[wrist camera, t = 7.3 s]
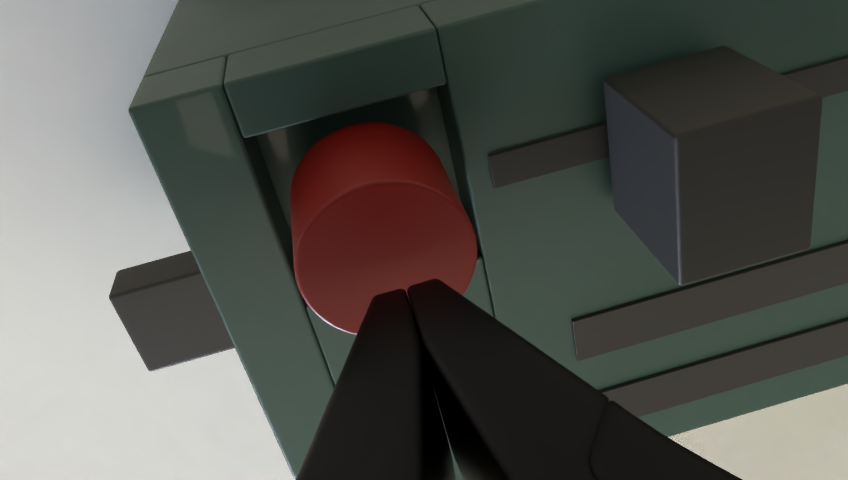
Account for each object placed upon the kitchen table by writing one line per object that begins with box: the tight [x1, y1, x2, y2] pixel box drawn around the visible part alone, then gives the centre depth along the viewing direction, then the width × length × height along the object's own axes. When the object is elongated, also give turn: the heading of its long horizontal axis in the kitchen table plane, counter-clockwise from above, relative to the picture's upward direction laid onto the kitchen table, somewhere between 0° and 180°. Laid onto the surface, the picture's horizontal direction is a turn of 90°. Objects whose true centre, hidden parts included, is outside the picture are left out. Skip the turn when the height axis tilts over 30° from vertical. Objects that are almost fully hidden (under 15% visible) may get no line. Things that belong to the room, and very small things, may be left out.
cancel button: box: [290, 122, 477, 335], centre depth 11 cm, size 3×3×2 cm
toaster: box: [109, 0, 848, 480], centre depth 17 cm, size 18×10×9 cm, turn 101°
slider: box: [603, 46, 822, 286], centre depth 11 cm, size 2×2×2 cm
